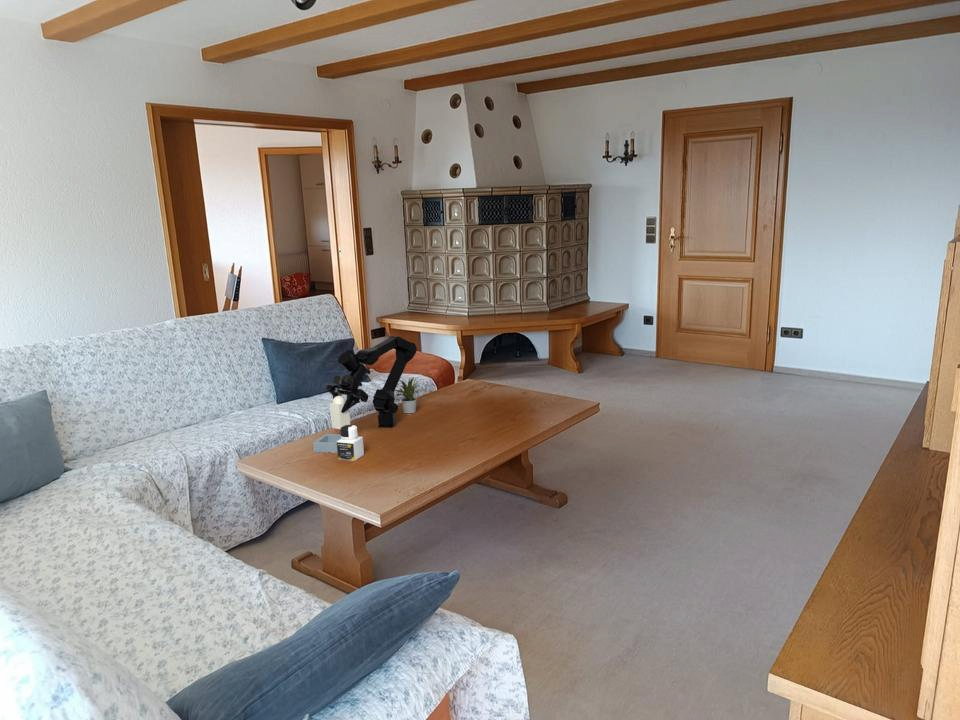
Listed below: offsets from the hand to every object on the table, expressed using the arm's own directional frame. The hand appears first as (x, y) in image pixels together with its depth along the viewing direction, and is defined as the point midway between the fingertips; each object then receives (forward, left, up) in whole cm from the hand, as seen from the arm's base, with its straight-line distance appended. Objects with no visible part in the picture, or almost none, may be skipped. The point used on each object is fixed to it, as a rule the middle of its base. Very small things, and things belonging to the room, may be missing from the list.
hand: (337, 411), depth 255 cm
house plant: (-13, -46, -14) cm, 50 cm away
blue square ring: (+1, +3, -13) cm, 14 cm away
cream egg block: (-1, -1, -7) cm, 7 cm away
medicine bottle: (-10, +12, -14) cm, 21 cm away
